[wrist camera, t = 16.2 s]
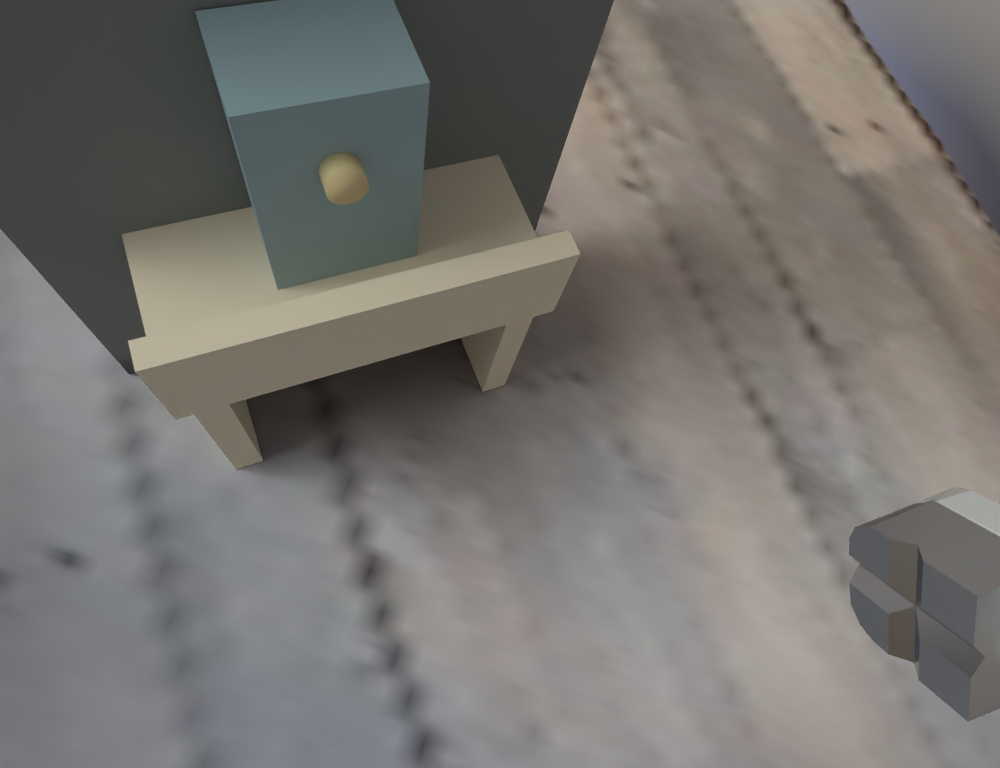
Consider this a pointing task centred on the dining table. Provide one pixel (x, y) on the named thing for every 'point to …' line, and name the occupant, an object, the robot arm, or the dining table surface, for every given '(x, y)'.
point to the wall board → (229, 214)
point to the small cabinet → (324, 129)
